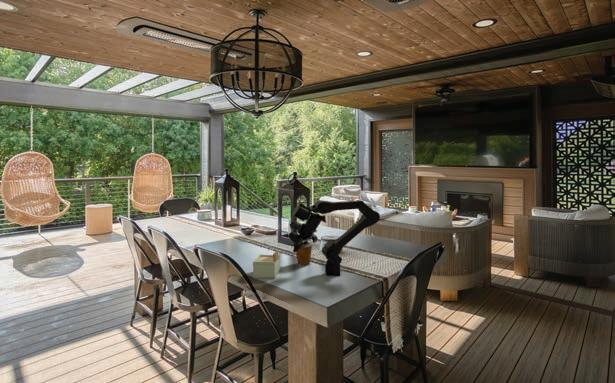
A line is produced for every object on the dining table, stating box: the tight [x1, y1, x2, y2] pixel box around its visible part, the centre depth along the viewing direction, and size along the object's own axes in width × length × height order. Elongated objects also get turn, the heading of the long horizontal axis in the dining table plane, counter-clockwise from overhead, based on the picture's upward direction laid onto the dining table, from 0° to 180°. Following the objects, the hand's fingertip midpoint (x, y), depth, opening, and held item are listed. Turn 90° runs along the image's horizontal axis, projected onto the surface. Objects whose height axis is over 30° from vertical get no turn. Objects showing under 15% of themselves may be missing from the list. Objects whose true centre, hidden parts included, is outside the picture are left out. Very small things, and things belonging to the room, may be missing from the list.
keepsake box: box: [252, 254, 281, 280], centre depth 176 cm, size 10×12×8 cm
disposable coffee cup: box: [293, 239, 314, 267], centre depth 191 cm, size 10×10×12 cm
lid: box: [258, 250, 279, 264], centre depth 175 cm, size 9×10×4 cm
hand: (294, 251), depth 176 cm, fingers closed
